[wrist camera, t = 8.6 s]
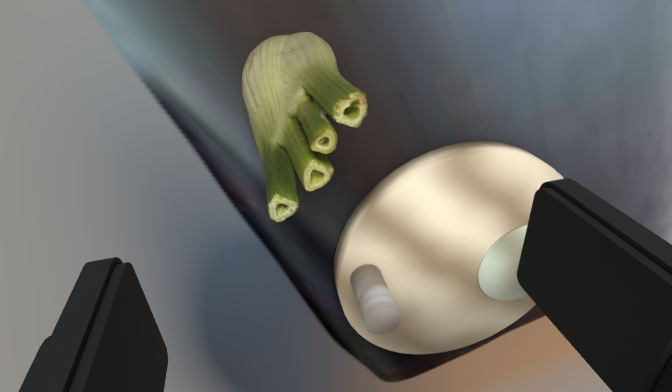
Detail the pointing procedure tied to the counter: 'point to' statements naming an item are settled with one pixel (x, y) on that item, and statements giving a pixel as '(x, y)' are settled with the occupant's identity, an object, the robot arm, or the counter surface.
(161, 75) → the counter surface
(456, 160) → the serving platter
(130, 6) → the counter surface
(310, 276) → the counter surface
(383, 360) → the counter surface
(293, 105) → the fennel bulb
